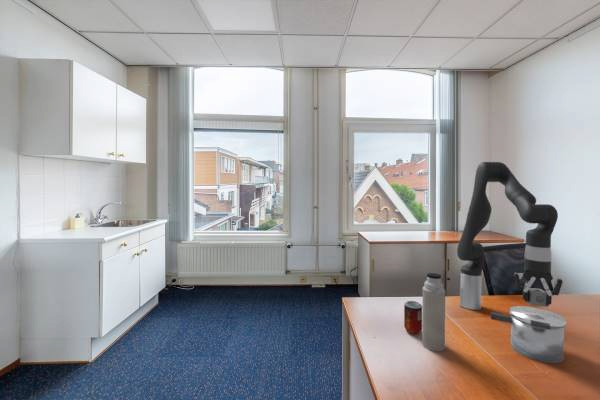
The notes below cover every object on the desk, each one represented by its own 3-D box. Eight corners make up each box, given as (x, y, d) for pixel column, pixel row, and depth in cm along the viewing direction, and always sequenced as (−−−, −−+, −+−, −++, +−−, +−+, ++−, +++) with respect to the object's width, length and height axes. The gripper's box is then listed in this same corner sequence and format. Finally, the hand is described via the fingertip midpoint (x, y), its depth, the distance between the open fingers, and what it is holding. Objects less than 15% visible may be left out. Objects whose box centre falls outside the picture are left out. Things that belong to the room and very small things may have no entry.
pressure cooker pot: (490, 348, 106) (491, 317, 106) (490, 330, 120) (490, 302, 120) (567, 368, 94) (568, 333, 94) (557, 345, 108) (558, 315, 108)
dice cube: (547, 307, 102) (548, 293, 102) (531, 305, 103) (531, 292, 103) (540, 301, 107) (540, 288, 107) (524, 300, 108) (525, 287, 108)
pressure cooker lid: (511, 322, 100) (511, 318, 100) (508, 306, 115) (508, 303, 115) (572, 335, 91) (572, 330, 91) (560, 316, 106) (561, 312, 106)
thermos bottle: (421, 338, 114) (421, 270, 113) (443, 341, 111) (443, 272, 110) (423, 349, 106) (423, 276, 105) (446, 353, 104) (447, 278, 103)
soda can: (424, 330, 120) (424, 302, 120) (418, 337, 115) (418, 308, 114) (407, 325, 125) (407, 298, 124) (401, 332, 119) (401, 303, 119)
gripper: (514, 257, 104) (513, 302, 105) (566, 263, 96) (565, 311, 97) (512, 253, 111) (511, 296, 111) (561, 258, 103) (560, 304, 103)
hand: (536, 302), depth 104 cm, fingers closed on dice cube, 5 cm apart
